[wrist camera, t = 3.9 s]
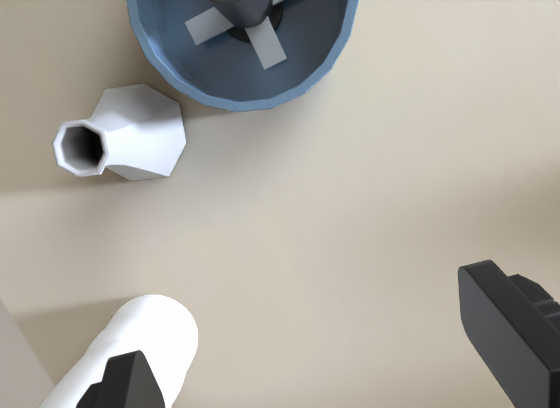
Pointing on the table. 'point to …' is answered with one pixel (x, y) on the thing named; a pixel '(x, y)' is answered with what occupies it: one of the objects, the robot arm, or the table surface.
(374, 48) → the table surface
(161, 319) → the water bottle
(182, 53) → the processor bowl
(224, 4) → the chopping blade
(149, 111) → the flask
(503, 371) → the robot arm
